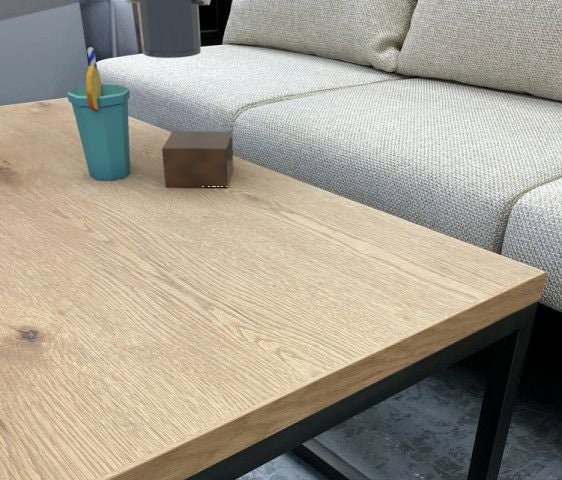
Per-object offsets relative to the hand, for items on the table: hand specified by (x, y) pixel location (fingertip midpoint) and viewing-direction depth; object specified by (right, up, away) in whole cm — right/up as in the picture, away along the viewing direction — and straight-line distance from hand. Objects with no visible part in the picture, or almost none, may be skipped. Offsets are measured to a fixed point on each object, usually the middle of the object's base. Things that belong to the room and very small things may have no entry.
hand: (165, 0), depth 76 cm
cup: (-11, -14, +19) cm, 25 cm away
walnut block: (+2, -15, +16) cm, 22 cm away
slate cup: (0, -4, +3) cm, 5 cm away
